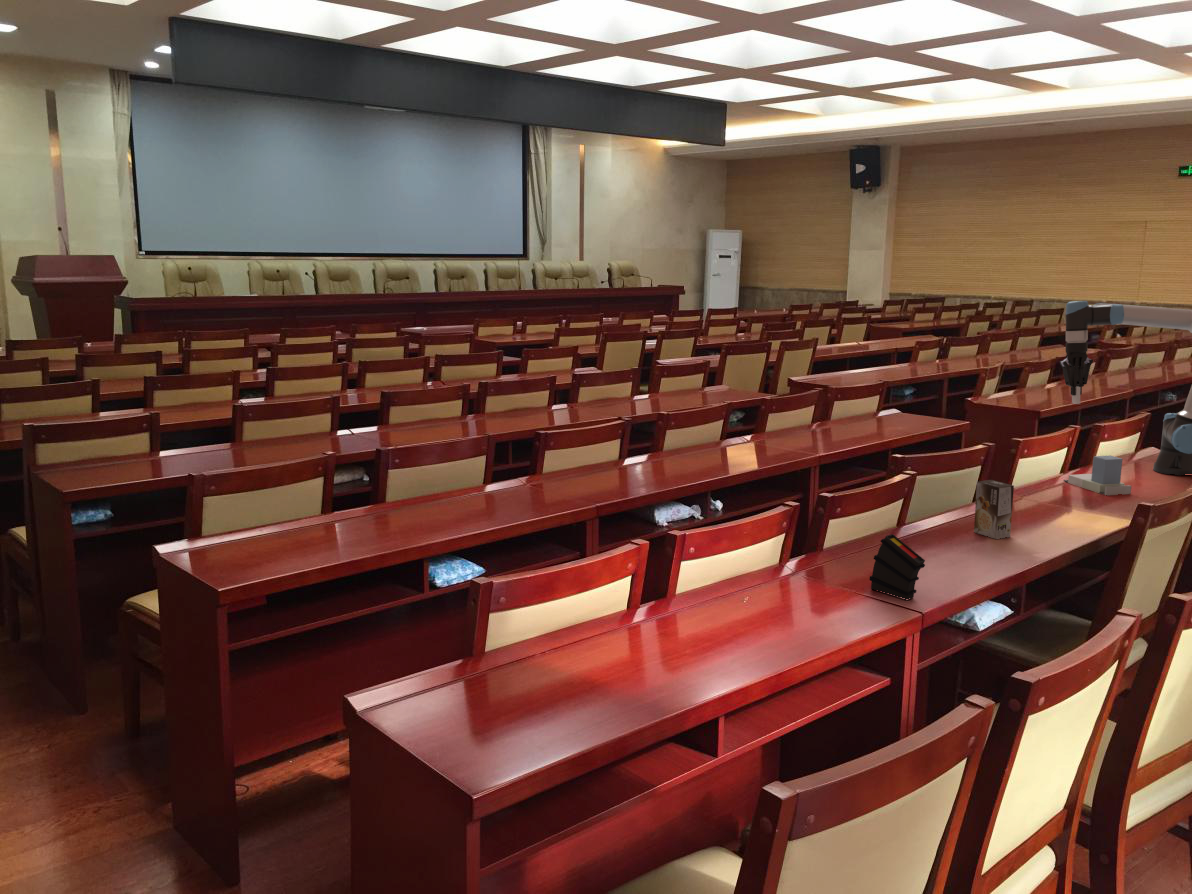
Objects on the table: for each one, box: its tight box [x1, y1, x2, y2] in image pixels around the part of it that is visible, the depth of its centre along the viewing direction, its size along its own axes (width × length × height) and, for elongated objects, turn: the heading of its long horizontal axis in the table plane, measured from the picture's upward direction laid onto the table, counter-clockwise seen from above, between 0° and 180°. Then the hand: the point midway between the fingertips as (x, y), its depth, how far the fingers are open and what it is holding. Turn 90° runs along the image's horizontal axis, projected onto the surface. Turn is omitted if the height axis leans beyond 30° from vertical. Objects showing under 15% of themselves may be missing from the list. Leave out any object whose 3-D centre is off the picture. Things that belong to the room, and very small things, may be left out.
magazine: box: [868, 533, 926, 599], centre depth 241 cm, size 4×13×15 cm, turn 39°
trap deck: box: [1063, 473, 1132, 496], centre depth 350 cm, size 10×22×3 cm, turn 12°
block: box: [1091, 454, 1123, 484], centre depth 344 cm, size 7×6×9 cm
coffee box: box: [973, 479, 1015, 540], centre depth 291 cm, size 9×6×16 cm
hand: (1076, 403), depth 368 cm, fingers closed
